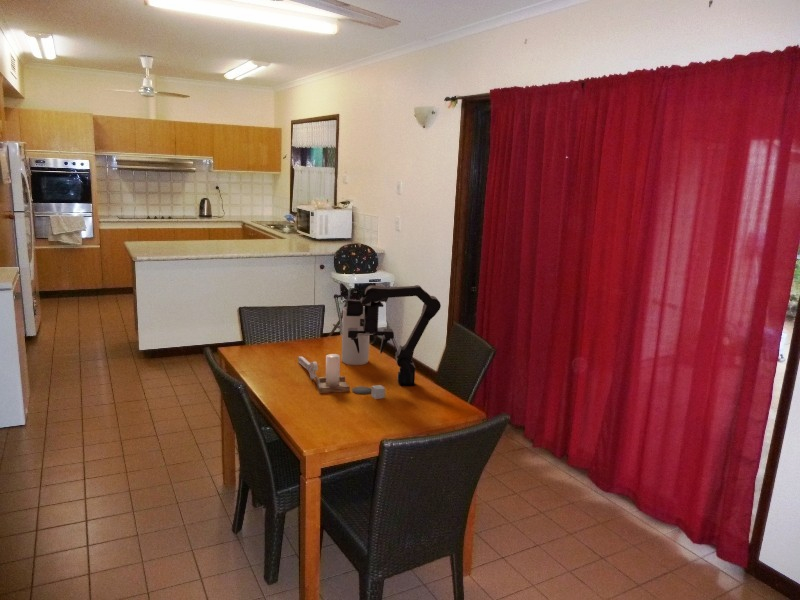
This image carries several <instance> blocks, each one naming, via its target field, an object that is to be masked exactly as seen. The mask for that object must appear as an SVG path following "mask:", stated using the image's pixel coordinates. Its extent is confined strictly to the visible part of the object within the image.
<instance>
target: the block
mask: <svg viewBox="0 0 800 600" xmlns="http://www.w3.org/2000/svg"><path fill="white" fill-rule="evenodd" d="M371 389H372V392H371V393H370V394H371V395H370V396H371V397H372V398H374V399H375V400H378V399H385V398H386V397H385V396H386V387H384V386H383V385H381V384H379V385H371Z"/></svg>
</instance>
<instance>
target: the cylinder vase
mask: <svg viewBox="0 0 800 600" xmlns="http://www.w3.org/2000/svg"><path fill="white" fill-rule="evenodd" d="M342 308H343V309H342V333H341V334H342V335H341V338H342V340H341V362H343V363H344V364H346V365H348V366H349V365H350V366H363V365H366V364H368V363H369V359H370V358H369V357H370V355H369V354H370V336H371V335H358V342H359V353H358V351H357V347H356V344H355V342H354V340H351V338H348V329H349V328H357V330H358V331H364V330H363V327H361V326H360V319H364V312H365V306H363V314H361V315H360V317H359V316H346V309H347V306H345V307H342Z"/></svg>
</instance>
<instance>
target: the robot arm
mask: <svg viewBox="0 0 800 600" xmlns="http://www.w3.org/2000/svg"><path fill="white" fill-rule="evenodd" d="M406 297H407V298H408V297H417V298H418V299H419V300H420V301H421V302H422V303H423V305H422V309H421V313H420V316H419V317H418V319H417V320H418V321H416V324H415V326H414V327H413V329H412V331H411V333H410V335H409V337H408V338H407V340H406V343H405V344H404V345H399V346H398V349H397V351H396V352H395V353H394V354H395V360H396V364H397V366H398V367H399V371H398V372H397V383H398V384H399V386H401V387H402V386H405V387H406V386H407V387H413V386H414V387H415V386H416V384H415V381H416V380H415V378H416V377H415V376H416V368H417V367H416V366H415V363H414V361H413V356H414V354H415V353H414V352H415V349H416V347H417V345H418V343H419V341H420V340H421V338H422V336H423V334H424V333H425V330H426V328H427V326H428V325H429V323H430V322H431V320H432V319H433V318H434V317H435V316H436V315H437V314H438V313H439V311H440V310H441V307H442V305H441V302H440V301H439V299H438V298H437V297H436V296H434V295H430V294H429V293H428V292H427V291H426V290H424V289H423V288H422V286H421V285H418V284H417V285H407V286H392V287H391V286H390V287H389V286H388V287H387V286H381V285H374V284H371V285H368V286H367V287H366V288H365V289H364V294H363V295H362V297H361V298H360V299H347V301H346V307H347V309H346V316H359V317H360V315H361V314H363V307H365V312H364V319H360V326H361V327H363V330H364V331H358V330H357V328H349V329H348V338H351V340H354V342H355V344H356V347H357V351H358V353H359V342H358V335H370V336H373V337H374V336H376V337H377V336H381V344H380V350H379V351H380V352H379V354H383V351H384V350H385V349H384V348H385V346H386V344H387V343H388V342H389V341H391V340H392V339H393V340H394V338H395V337H394V336H395V335H394V330H393V329H392V328H383V330H378V329H379V328H378V327H379V309H380V308H384V304H383V302H382V300H385V299H390V298H391V299H392V298H406Z"/></svg>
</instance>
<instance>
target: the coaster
mask: <svg viewBox="0 0 800 600" xmlns="http://www.w3.org/2000/svg"><path fill="white" fill-rule="evenodd" d="M351 391H352V393H354V394H357V395H369V394H371V392H372V387H371V388H370V387H368V386H355V387H352V390H351Z"/></svg>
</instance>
